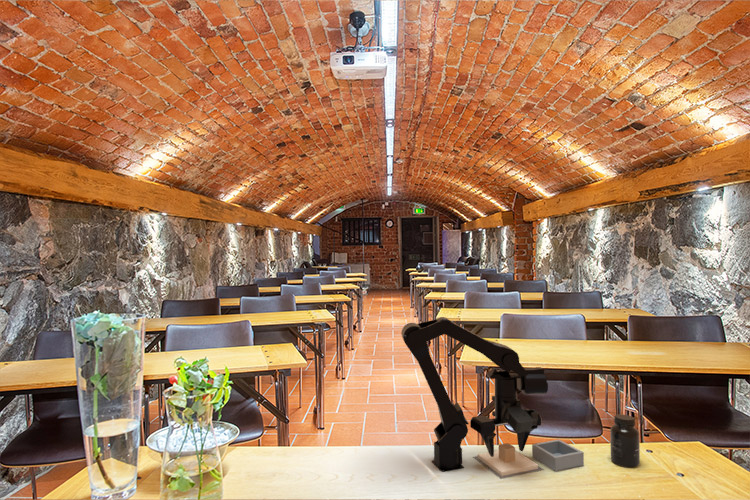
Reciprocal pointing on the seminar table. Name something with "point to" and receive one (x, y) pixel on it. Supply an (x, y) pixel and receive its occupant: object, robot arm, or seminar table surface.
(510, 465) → the lid
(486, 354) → the robot arm
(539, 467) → the mat
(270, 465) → the seminar table surface
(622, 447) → the supplement bottle
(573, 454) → the dish
